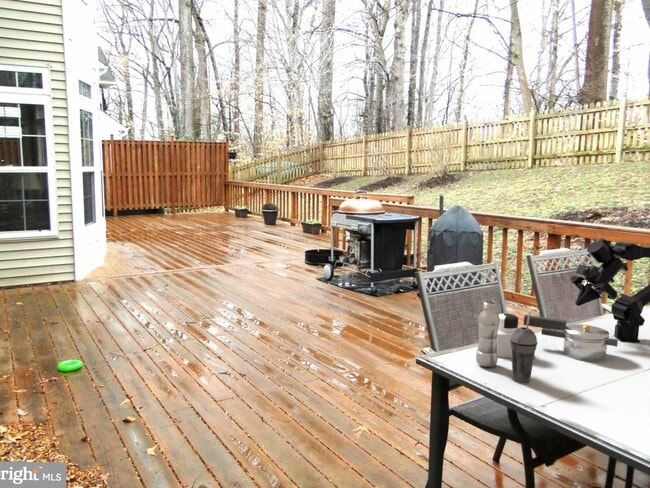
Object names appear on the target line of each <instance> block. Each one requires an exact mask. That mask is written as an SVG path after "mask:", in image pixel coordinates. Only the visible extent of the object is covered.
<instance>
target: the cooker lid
mask: <svg viewBox="0 0 650 488" xmlns="http://www.w3.org/2000/svg"><path fill="white" fill-rule="evenodd" d="M527 320H528V314H524V316H523V326H526V325H527ZM567 322H568V321H567V320H565V319H559V318H551V317H545V316H537V315H531V314H530V319H529V325H528V327H534V328H541V329H543V328H546V329H552V330H558V331H564V332H565V333H566V334H567V335H569V336H572V337H575V338H579V339H584V340H593V341H600V340H606V339H608V338H609V336H610V332H609V331H608V330H606V329H604V328H602V327H598V326H593V325H588V324H578V323H576V324H575V323H573V324H568V323H567Z"/></svg>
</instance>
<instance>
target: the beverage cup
mask: <svg viewBox="0 0 650 488" xmlns="http://www.w3.org/2000/svg"><path fill="white" fill-rule="evenodd" d="M531 313H532V312H530V311H529V312H528V314H527V315H528V320H527V325H525V327H523V326H521V327H518V329H516V330H515V331H514V332H513V333H512V336H511V339H510V341H511V348H512V358H511V372H512V373H511V375H512V381H513V380H514V381H513V382H515V383H517V382H518V383H517V384H521V383H524V384H526V383H527V384H529V383H530V382H531V381H530V380H531V377H532V371H533V365H534V359H535V352H536V350H537V346H538V339H537V335H536V334H535V332H534V331H533V330H532V329H530V328H529V326H528V325H529V319H530V315H531ZM527 384H526V385H527Z"/></svg>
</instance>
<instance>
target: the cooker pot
mask: <svg viewBox="0 0 650 488" xmlns="http://www.w3.org/2000/svg"><path fill="white" fill-rule="evenodd" d="M540 335H541V336H550V337H555V338H561V339H563V350H562V351H563V355H565V356H566V357H568V358H571V359H574V360H578V361H582V362H588V363H589V362H590V363H600V362H604V361H605V360H606V358H607V350H608V348H607V347H608V346H613V347H615V348H617V346H618V343H619V342H618V341H619V340H618V339H617V338H608V339H606V340H600V341H593V340H584V339H579V338H575V337H572V336H569V335H567V334H566V333H565V332H564V331H560V330H553V329H546V328H541V334H540Z"/></svg>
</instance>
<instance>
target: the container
mask: <svg viewBox="0 0 650 488" xmlns="http://www.w3.org/2000/svg"><path fill="white" fill-rule="evenodd" d="M498 316H499V318H500V324H499V328H498V334H497V354H498V358H511V359H512V348H511V341H510V339H511V336H512V333H513V332H514V331H515V330H516V329H518V328H519V327H518V326H519V318H518V316H517V315H515V314H513V313H512V314H511V313H500V314H498Z"/></svg>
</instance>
